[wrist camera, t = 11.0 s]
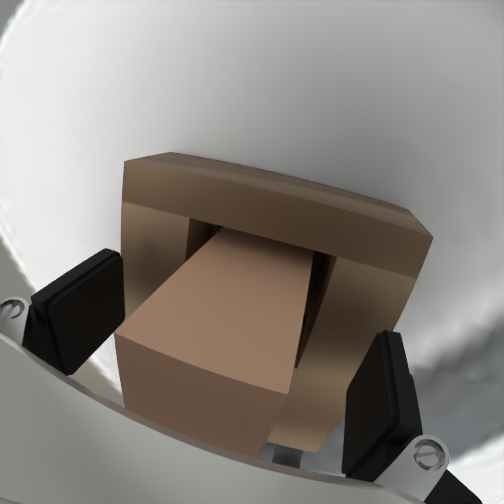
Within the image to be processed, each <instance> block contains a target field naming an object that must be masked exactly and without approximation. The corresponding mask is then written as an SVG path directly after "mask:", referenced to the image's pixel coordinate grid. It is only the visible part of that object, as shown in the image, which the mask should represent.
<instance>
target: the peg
mask: <svg viewBox="0 0 504 504" xmlns="http://www.w3.org/2000/svg"><path fill="white" fill-rule="evenodd" d="M313 255H314V250H311V249H307V248H303V247H299V246H296V245H292V244H288V243H285V242H281V241H277V240H273V239H269V238H266V237H262V236H258V235H254V234H250V233H247V232H243V231H239V230H235V229H231V228H227V227H223V228H222V229H221V230H220V231H219V232H217V233H216V234H215V235H214V236H213V237H212V238H211V239H210V240H209V241H208V242H207V243H206V244H205V245H203V246H202V247H201V248H200V249H199V250H198V251H197V252H196V253H195V254H194V255H193V256H192V257H191V258H190V259H189V260H187V261H186V262H185V263H184V264H183V265H182V266H181V267H180V268H179V269H178V270H177V271H176V272H175V273H174V274H173V275H172V276H171V277H170V278H169V279H167V280H166V281H165V282H164V283H163V284H162V285H161V286H160V287H159V288H158V289H157V290H156V291H155V292H154V293H153V294H152V295H151V296H150V297H149V298H148V299H147V300H146V301H145V302H144V303H143V304H142V305H141V306H140V307H139V308H138V309H137V310H136V311H135V312H134V313H133V314H132V315H131V316H130V317H129V318H128V319H127V320H126V321H125V322H124V323H122V324H121V325H120V326H119V328H118V329H117V330H116V331H115V332H114V338H115V347H116V355H117V362H118V369H119V375H120V381H121V387H122V393H123V399H124V404H125V409H128V410H130V411H132V412H134V413H136V414H138V415H140V416H142V417H144V418H146V419H149V420H151V421H153V422H155V423H158V424H160V425H162V426H165V427H167V428H169V429H172V430H174V431H177V432H179V433H182V434H184V435H187V436H189V437H192V438H195V439H197V440H200V441H203V442H206V443H208V444H211V445H214V446H217V447H220V448H223V449H226V450H229V451H232V452H236V453H239V454H242V455H246V456H249V457H253V458H256V459H258V457H259V455H260V453H261V451H262V449H263V447H264V445H265V443H266V441H267V439H268V437H269V435H270V433H271V431H272V429H273V427H274V424H275V422H276V420H277V418H278V416H279V414H280V412H281V409H282V407H283V405H284V403H285V400H286V398H287V396H288V393H289V388H290V383H291V379H292V374H293V369H294V364H295V359H296V354H297V349H298V344H299V338H300V333H301V328H302V322H303V316H304V311H305V305H306V299H307V293H308V287H309V281H310V274H311V268H312V261H313Z"/></svg>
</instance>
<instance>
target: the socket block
mask: <svg viewBox="0 0 504 504" xmlns="http://www.w3.org/2000/svg"><path fill="white" fill-rule="evenodd" d="M219 226H223V227H227V228H231V229H235V230H239V231H243V232H247V233H250V234H254V235H258V236H262V237H266V238H269V239H273V240H277V241H281V242H285V243H288V244H292V245H296V246H299V247H303V248H307V249H311V250H314V251H318V252H322V253H325V254H327V256H326V259H325V262H324V266H323V269H322V272H321V275H320V278H319V282H318V285H317V288H316V291H315V294H314V297H313V300H312V303H311V306H310V309H309V312H308V315H307V318H306V320H304V319H303V322H302V328H301V333H300V338H299V344H298V349H297V354H296V359H295V364H294V369H293V374H292V379H291V383H290V388H289V393H288V396H287V398H286V400H285V403H284V405H283V407H282V409H281V412H280V414H279V416H278V418H277V420H276V422H275V424H274V427H273V429H272V431H271V433H270V435H269V437H268V439H267V441H266V442H270V443H274V444H277V445H276V449H275V453H274V456H273V460H272V463H276V464H280V465H284V466H288V467H293V468H297V469H299V467H300V462H301V457H302V451H303V450H304V451H309V452H315V453H317V452H318V450H319V449H320V448H321V446H322V445H323V443H324V442H325V441H326V439H327V438H328V437H329V435H330V434H331V432H332V431H333V430H334V428H335V427H336V425H337V424H338V422H339V421H340V419H341V418H342V416H343V415H344V413H345V411H346V392H347V389H348V386H349V384H350V382H351V381H352V379H353V377H354V375H355V374H356V372H357V370H358V368H359V366H360V365H361V363H362V361H363V359H364V357H365V355H366V353H367V351H368V350H369V348H370V346H371V344H372V342H373V340H374V338H375V336H376V334H377V333H382V332H383V331H384V330H389V331H393V329H394V327H395V325H396V323H397V321H398V319H399V317H400V315H401V313H402V311H403V309H404V307H405V305H406V302H407V300H408V298H409V296H410V294H411V291H412V289H413V287H414V285H415V282H416V280H417V278H418V275H419V273H420V270H421V268H422V265H423V263H424V260H425V258H426V255H427V253H428V250H429V248H430V245H431V242H432V239H433V236H432V235H431V234H430V233H429V232H428V231H427V229H426V228H425V227H424V226H423V225H422V224H421V223H420V222H419V221H418V220H417V219H416V218H415V217H414V215H413V214H412V213H411V212H410V211H409V210H407V209H404V208H401V207H398V206H395V205H392V204H389V203H386V202H382V201H379V200H376V199H373V198H369V197H366V196H362V195H359V194H356V193H352V192H349V191H345V190H341V189H338V188H334V187H331V186H327V185H323V184H319V183H315V182H312V181H308V180H304V179H300V178H296V177H291V176H287V175H283V174H279V173H275V172H270V171H266V170H261V169H257V168H252V167H248V166H243V165H238V164H233V163H228V162H223V161H218V160H213V159H207V158H202V157H196V156H191V155H185V154H179V153H173V152H169V153H163V154H158V155H152V156H147V157H142V158H137V159H132V160H128V161H124V173H123V188H122V209H121V257H122V259H123V271H124V297H125V314H126V315H125V320H124V322H125V321H126V320H127V319H128V318H129V317H130V316H131V315H132V314H133V313H134V312H135V311H136V310H137V309H138V308H139V307H140V306H141V305H142V304H143V303H144V302H145V301H146V300H147V299H148V298H149V297H150V296H151V295H152V294H153V293H154V292H155V291H156V290H157V289H158V288H159V287H160V286H161V285H162V284H163V283H164V282H165V281H166V280H167V279H169V278H170V277H171V276H172V275H173V274H174V273H175V272H176V271H177V270H178V269H179V268H180V267H181V266H182V265H183V264H184V263H185V262H186V261H187V260H189V259H190V258H191V257H192V256H193V255H194V254H195V253H196V252H197V251H198V250H199V249H200V248H201V247H202V246H203V245H205V244H206V243H207V242H208V241H209V240H210V239H211V238H212V237H213V236H214V235H215V234H216V233H217V232H218V228H219Z"/></svg>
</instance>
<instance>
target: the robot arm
mask: <svg viewBox="0 0 504 504" xmlns="http://www.w3.org/2000/svg"><path fill="white" fill-rule="evenodd" d="M31 300H32V304H31V305H30V306H29V304H28V303H27V301H26V300H25V299H23V298H20V297H9V298H6V299H4V300H2V301H0V504H482V501H481V500H480V499H479V498H478V497H477V496H476V495H475V494H474V493H473V492H471V491H470V490H469V489H468V488H467V487H466V486H465V485H464V484H463V483H461V482H460V481H459V480H458V479H457V478H456V477H455V476H454V475H453V474H452V473H450V472H449V471H448V470H447V466H448V464H449V453H448V450H447V448H446V446H445V444H444V443H443V442H442V441H441V440H439V439H438V438H436V437H434V436H430V435H423V431H422V425H421V418H420V412H419V407H418V401H417V396H416V390H415V385H414V380H413V377H412V375H411V374H410V373H409V368H408V363H407V359H406V354H405V350H404V346H403V342H402V337H401V334H400V333H397V332H393V331H389V330H384V331H383V332H382V333H377V334H376V336H375V338H374V340H373V342H372V344H371V346H370V348H369V350H368V351H367V353H366V355H365V357H364V359H363V361H362V363H361V365H360V366H359V368H358V370H357V372H356V374H355V375H354V377H353V379H352V381H351V382H350V384H349V386H348V389H347V392H346V411H345V430H344V446H343V458H342V473H343V474H346V477H345V478H344V477H339V476H333V475H327V474H321V473H316V472H311V471H306V470H301V469H297V468H293V467H288V466H284V465H280V464H276V463H271V462H268V461H264V460H260V459H256V458H253V457H249V456H246V455H242V454H239V453H236V452H232V451H229V450H226V449H223V448H220V447H217V446H214V445H211V444H208V443H206V442H203V441H200V440H197V439H195V438H192V437H189V436H187V435H184V434H182V433H179V432H177V431H174V430H172V429H169V428H167V427H165V426H162V425H160V424H158V423H155V422H153V421H151V420H149V419H146V418H144V417H142V416H140V415H138V414H136V413H134V412H132V411H130V410H128V409H125V408H123V407H121V406H120V405H118V404H115V403H114V402H112V401H110V400H108V399H106V398H104V397H102V396H101V395H98V394H97V393H95V392H93V391H92V390H90V389H88V388H86V387H85V386H83V385H81V384H79V383H78V382H76V381H74V380H73V379H71V378H69V377H68V375H72V374H74V373H75V372H76V371H77V370H78V368H79V367H80V366H81V365H82V364H83V363H84V362H85V361H86V360H87V359H88V358H89V357H90V356H91V355H92V354H93V353H94V352H95V351H96V350H97V349H98V348H99V347H100V346H101V345H102V344H103V343H104V342H105V341H106V340H107V339H108V337H109V336H110V335H111V334H112V333H113V332H114V331H115V330H116V329H117V328H118V327H119V326H120V325H121V324H122V323H123V322H124V320H125V315H126V314H125V297H124V271H123V259H122V257H121V256H120V253H119V252H116V251H113V250H110V249H107V248H105V249H103V250H101V251H100V252H98V253H96V254H95V255H93V256H91V257H90V258H88V259H87V260H85V261H84V262H82V263H80V264H79V265H77V266H76V267H74V268H73V269H71V270H70V271H68V272H67V273H65V274H63V275H62V276H60V277H59V278H57V279H56V280H54V281H53V282H51V283H50V284H48V285H47V286H46V287H44V288H43V289H41V290H40V291H38V292H37V293H35V294H34V295H32V296H31Z"/></svg>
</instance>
